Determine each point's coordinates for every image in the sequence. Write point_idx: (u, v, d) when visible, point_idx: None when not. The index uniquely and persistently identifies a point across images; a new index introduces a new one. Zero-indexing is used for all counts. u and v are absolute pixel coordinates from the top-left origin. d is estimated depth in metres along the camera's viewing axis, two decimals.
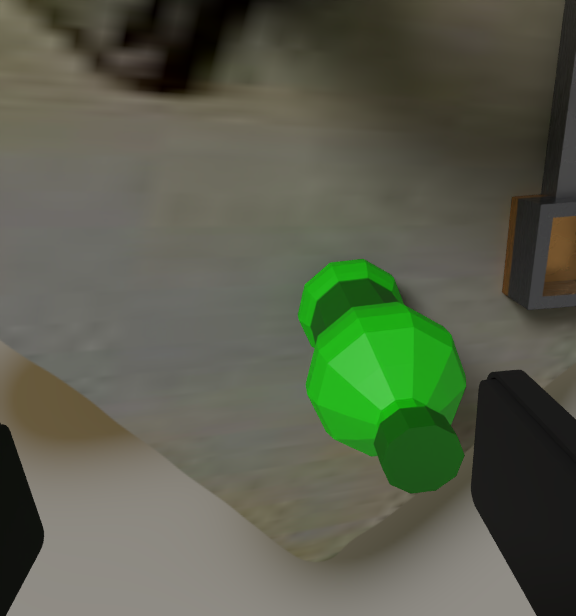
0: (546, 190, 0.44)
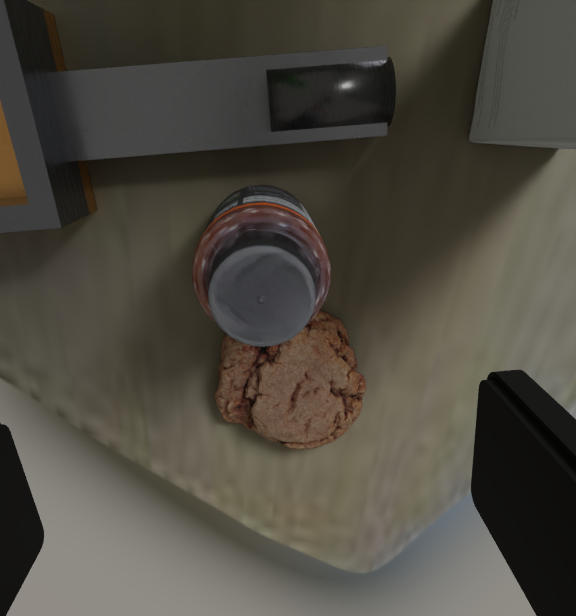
0: None
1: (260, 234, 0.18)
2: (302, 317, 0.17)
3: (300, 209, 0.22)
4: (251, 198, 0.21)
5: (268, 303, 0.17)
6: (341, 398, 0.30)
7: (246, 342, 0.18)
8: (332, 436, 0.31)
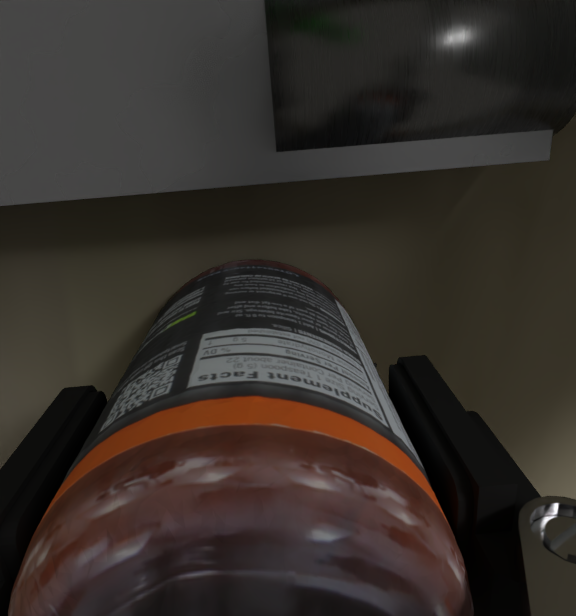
0: None
1: (235, 605, 0.04)
2: None
3: (353, 360, 0.08)
4: (219, 351, 0.07)
5: None
6: None
7: None
8: None
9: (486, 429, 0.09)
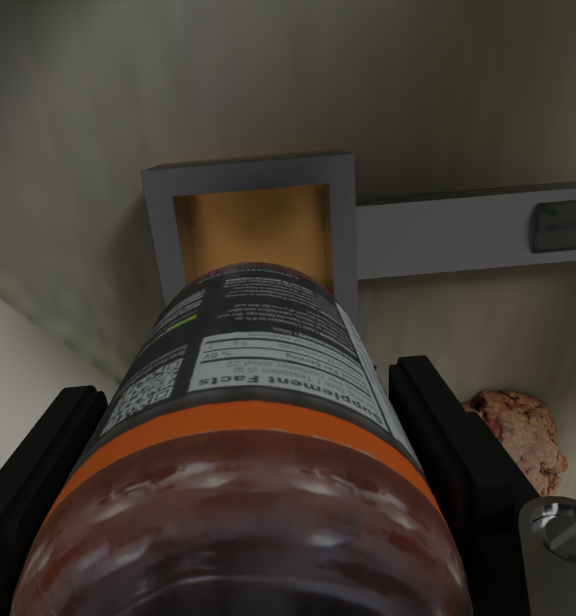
0: None
1: (236, 610, 0.04)
2: None
3: (353, 364, 0.08)
4: (220, 355, 0.07)
5: None
6: (546, 475, 0.32)
7: None
8: None
9: (486, 428, 0.09)
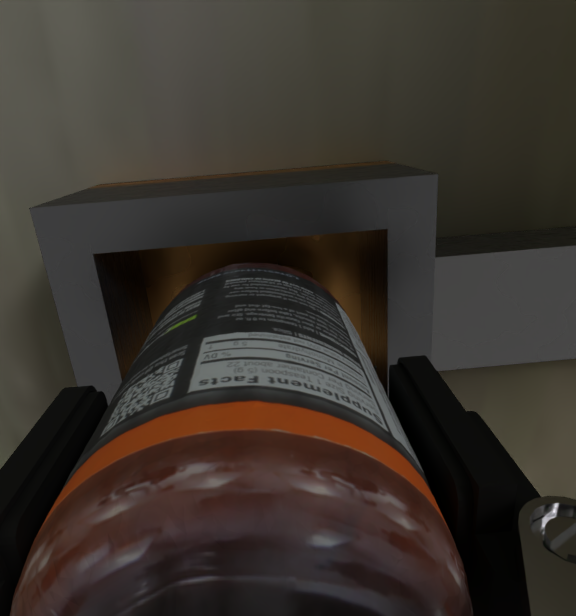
0: None
1: (235, 612, 0.04)
2: None
3: (353, 364, 0.08)
4: (219, 355, 0.07)
5: None
6: None
7: None
8: None
9: (486, 429, 0.09)
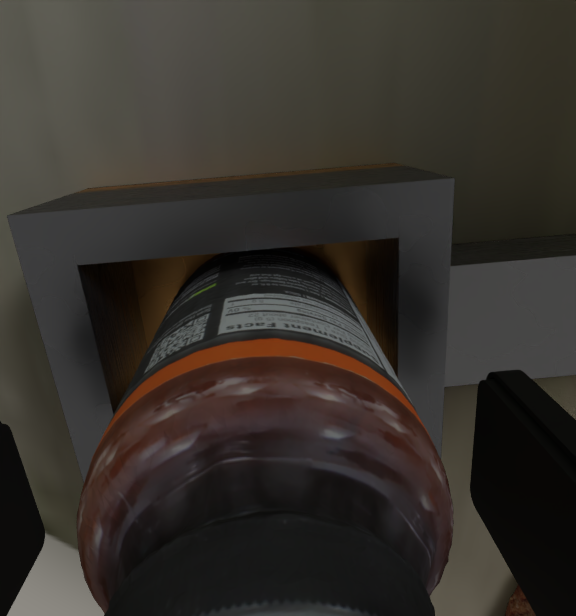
0: None
1: (267, 480, 0.06)
2: None
3: (354, 322, 0.10)
4: (241, 309, 0.09)
5: None
6: None
7: None
8: None
9: None
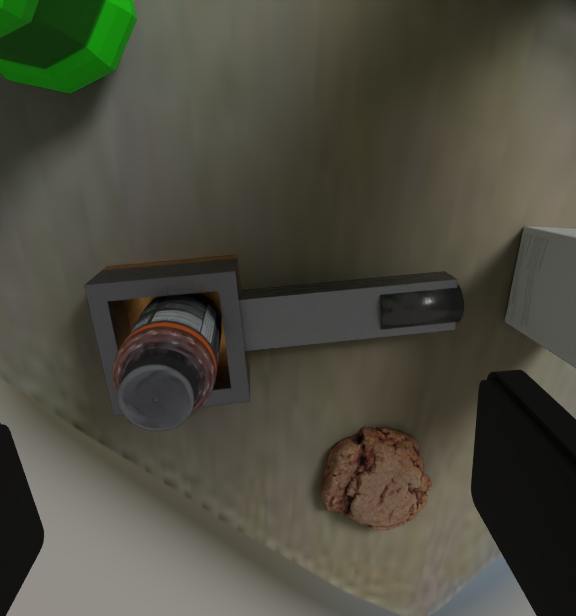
0: (247, 292, 0.35)
1: (157, 351, 0.26)
2: (185, 411, 0.25)
3: (199, 319, 0.30)
4: (159, 315, 0.29)
5: (160, 402, 0.25)
6: (415, 493, 0.41)
7: (146, 428, 0.25)
8: (406, 520, 0.42)
9: None
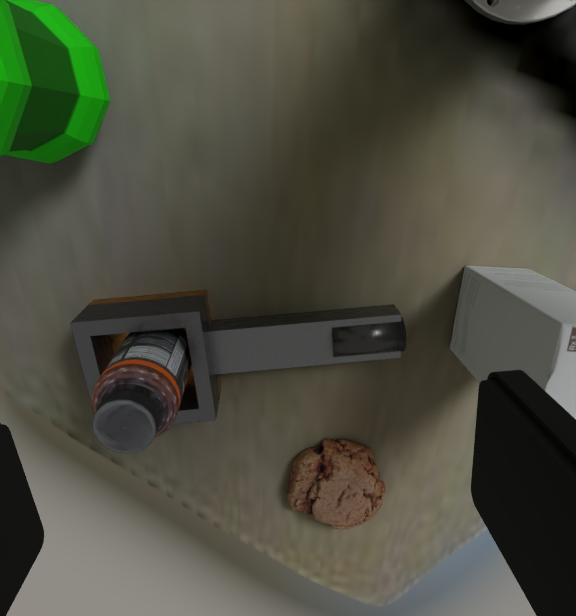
0: (215, 323, 0.40)
1: (126, 386, 0.31)
2: (148, 437, 0.30)
3: (167, 353, 0.35)
4: (132, 351, 0.34)
5: (127, 430, 0.30)
6: (370, 498, 0.46)
7: (117, 451, 0.30)
8: (363, 521, 0.47)
9: None
